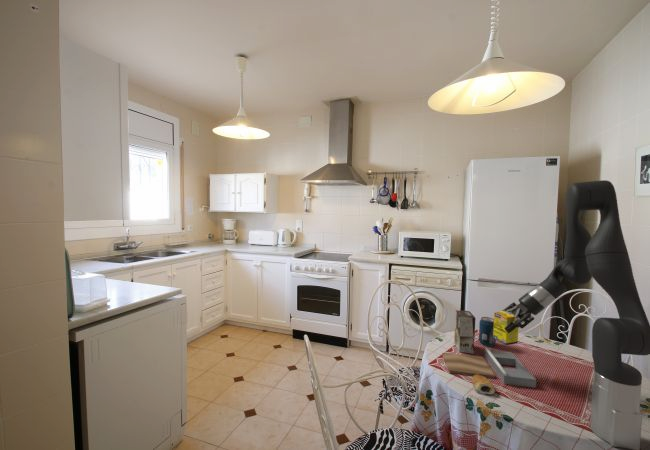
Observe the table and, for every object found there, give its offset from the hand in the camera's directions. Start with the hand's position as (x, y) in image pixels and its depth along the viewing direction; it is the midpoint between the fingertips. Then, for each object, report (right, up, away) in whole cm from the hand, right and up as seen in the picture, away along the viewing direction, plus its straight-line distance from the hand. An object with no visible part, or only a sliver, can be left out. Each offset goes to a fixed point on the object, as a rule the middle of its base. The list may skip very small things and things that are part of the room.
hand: (501, 326), depth 112 cm
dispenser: (+2, -17, 0) cm, 18 cm away
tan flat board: (-12, -17, +3) cm, 21 cm away
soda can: (+7, -17, +23) cm, 29 cm away
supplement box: (+1, -6, 0) cm, 6 cm away
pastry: (-14, -18, -11) cm, 25 cm away
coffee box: (-6, -17, +18) cm, 25 cm away
